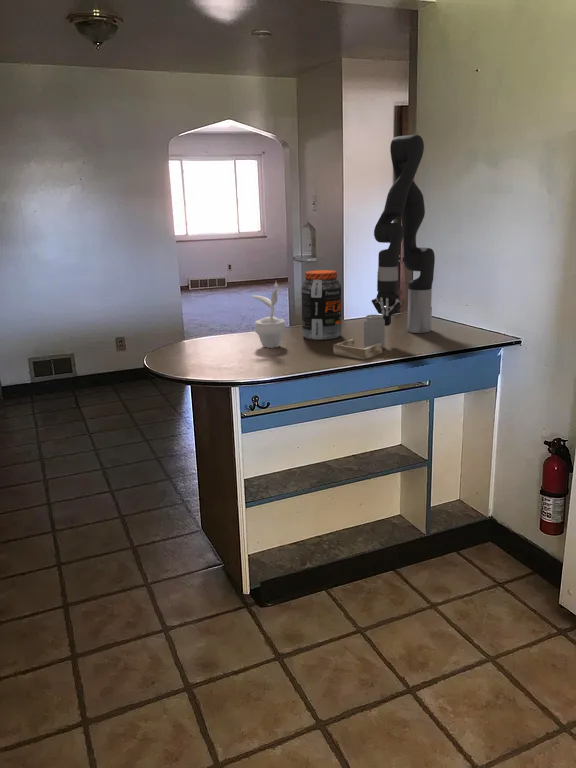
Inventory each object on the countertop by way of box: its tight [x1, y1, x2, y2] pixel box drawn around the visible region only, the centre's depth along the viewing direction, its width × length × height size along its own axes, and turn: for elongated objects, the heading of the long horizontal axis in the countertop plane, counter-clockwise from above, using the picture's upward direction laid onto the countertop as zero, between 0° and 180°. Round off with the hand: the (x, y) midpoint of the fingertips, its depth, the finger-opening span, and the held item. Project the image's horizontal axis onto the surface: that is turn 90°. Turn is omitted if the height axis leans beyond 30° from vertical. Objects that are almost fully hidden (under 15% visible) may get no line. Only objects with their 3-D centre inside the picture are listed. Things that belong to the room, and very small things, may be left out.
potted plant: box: [251, 281, 287, 349], centre depth 237 cm, size 13×12×25 cm
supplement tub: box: [301, 269, 342, 341], centre depth 250 cm, size 16×16×26 cm
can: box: [363, 314, 386, 349], centre depth 231 cm, size 8×8×12 cm
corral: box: [332, 338, 383, 360], centre depth 225 cm, size 11×13×4 cm
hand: (386, 325), depth 236 cm, fingers closed
